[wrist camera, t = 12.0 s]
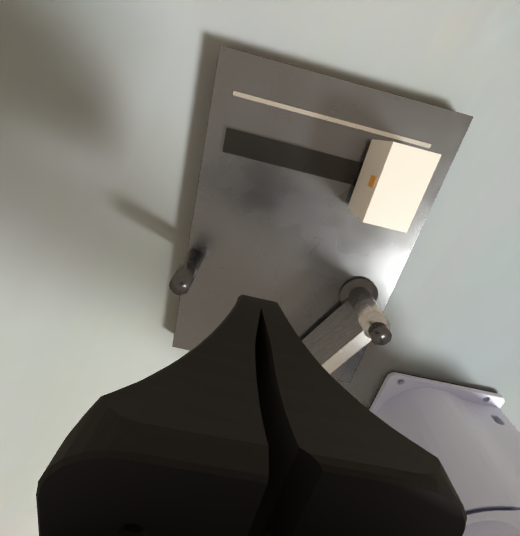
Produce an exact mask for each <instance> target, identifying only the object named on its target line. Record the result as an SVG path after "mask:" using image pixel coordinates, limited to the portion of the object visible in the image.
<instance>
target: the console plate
mask: <svg viewBox="0 0 520 536" xmlns="http://www.w3.org/2000/svg"><path fill="white" fill-rule="evenodd" d="M472 119H473V116H469V115H466V114H462V113H459V112H455V111H451V110H448V109H444V108H441V107H437V106H434V105H430V104H427V103H423V102H420V101H416V100H412V99H409V98H405V97H402V96H398V95H395V94H391V93H388V92H384V91H380V90H377V89H373V88H370V87H366V86H363V85H359V84H356V83H352V82H349V81H345V80H341V79H338V78H334V77H331V76H327V75H324V74H320V73H317V72H313V71H309V70H306V69H302V68H299V67H295V66H292V65H288V64H285V63H281V62H278V61H274V60H270V59H267V58H263V57H260V56H256V55H253V54H249V53H246V52H242V51H238V50H235V49H231V48H228V47H224V46H221V45H220V50H219V56H218V62H217V69H216V75H215V81H214V88H213V94H212V100H211V106H210V113H209V119H208V125H207V132H206V138H205V144H204V151H203V157H202V163H201V169H200V176H199V182H198V188H197V195H196V201H195V207H194V214H193V220H192V226H191V232H190V239H189V245H188V251H187V255H186V257H185V259H184V260H183V262H182V263H181V265H180V267H179V268H178V270H177V271H176V273H175V275H174V276H173V278H172V280H171V281H170V284H169V286H170V289H171V291H172V292H174V293H175V294H178V295H180V302H179V308H178V314H177V321H176V327H175V333H174V340H173V346H172V347H177V348H182V349H187V350H192V349H194V348H195V347H196V346H197V345H199V344H200V343H201V342H202V341H203V340H205V339H206V338H207V337H208V336H209V335H210V334H211V333H212V332H213V331H214V330H215V329H216V328H217V327H218V326H219V325H220V324H221V323H222V321H223V320H224V319H225V318H226V317H227V315H228V314H229V313H230V311H231V310H232V309H233V307H234V306H235V304H236V302H237V300H238V297H239V296H240V295H247V296H251V297H256V298H261V299H265V300H270V301H274V302H277V303H278V305H279V306H280V308H281V310H282V311H283V313H284V315H285V316H286V318H287V319H288V321H289V323H290V324H291V326H292V327H293V329H294V330H295V332H296V333H297V335H298V336H299V338H300V339H301V341H302V340H303V339H304V338H305V337H306V336H307V335H308V334H310V333H311V332H312V331H313V330H314V329H315V328H316V327H317V326H319V325H320V324H321V323H322V322H323V321H324V320H325V319H326V318H328V317H329V316H330V315H331V314H332V313H333V312H334V311H335V310H337V309H338V308H339V307H340V306H341V305H342V304H343V303H344V302H346V301H347V300H348V295H349V293H350V292H351V291H352V290H353V289H354V288H357V287H364V288H366V289H368V290H369V291H370V293H371V295H372V296H373V298H374V299H375V301H376V303H377V304H378V306H379V307H380V309H381V311H382V312H383V310H384V308H385V306H386V304H387V302H388V299H389V297H390V295H391V293H392V291H393V289H394V286H395V284H396V282H397V280H398V278H399V276H400V274H401V271H402V269H403V267H404V265H405V263H406V261H407V258H408V256H409V254H410V252H411V250H412V248H413V246H414V243H415V241H416V239H417V237H418V235H419V233H420V231H421V228H422V226H423V224H424V222H425V220H426V218H427V215H428V213H429V211H430V209H431V207H432V205H433V203H434V200H435V198H436V196H437V194H438V192H439V190H440V187H441V185H442V183H443V181H444V179H445V177H446V175H447V172H448V170H449V168H450V166H451V164H452V162H453V159H454V157H455V155H456V153H457V151H458V149H459V147H460V144H461V142H462V140H463V138H464V136H465V134H466V132H467V129H468V127H469V125H470V123H471V121H472ZM372 139H375V140H383V141H392V142H397V143H400V144H404V145H408V146H411V147H415V148H419V149H423V150H426V151H430V152H434V153H437V154H441V157H440V160H439V162H438V164H437V166H436V169H435V171H434V173H433V175H432V178H431V180H430V182H429V184H428V186H427V189H426V191H425V193H424V195H423V198H422V200H421V202H420V204H419V207H418V209H417V211H416V213H415V216H414V218H413V220H412V222H411V224H410V227H409V229H408V231H407V233H405V232H401V231H397V230H392V229H388V228H384V227H380V226H376V225H372V224H368V223H364V222H362V221H361V220H360V219H359V218H358V217H357V216H356V215H355V214H354V213H353V212H352V211H351V210H350V209H349V208H348V205H349V202H350V199H351V196H352V194H353V191H354V188H355V185H356V182H357V180H358V177H359V174H360V171H361V168H362V166H363V163H364V160H365V157H366V154H367V152H368V149H369V146H370V143H371V140H372ZM368 334H369V336H370V338H371V340H372V342H373V343H374V344H376V345H384V344H387V343H388V342H389V341H390V340H391V333H390V331H389V329H388V328H387V326H386V325H385V324H384V323H381V322H377V323H374V324H372V325H371V326H370V327H369V329H368ZM367 345H368V344H366V345H365V346H364V347H363V348H361V349H360V350H359V351H358V352H356V353H355V354H354V355H353V356H352V357H350V358H349V359H348V360H347V361H345V362H344V363H343V364H342V365H340V366H339V367H338V368H337V369H335V370H334V371H333V372H332V373H331V374H330V375H331V376H332V377H333V378H334V379H335V380H339V381H344V382H349V383H350V381H351V379H352V377H353V375H354V373H355V370H356V368H357V366H358V364H359V362H360V360H361V357H362V355H363V353H364V351H365V349H366V347H367Z"/></svg>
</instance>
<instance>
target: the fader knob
mask: <svg viewBox="0 0 520 536" xmlns="http://www.w3.org/2000/svg"><path fill="white" fill-rule="evenodd" d="M440 157H441V154H437V153H434V152H430V151H426V150H423V149H419V148H415V147H411V146H408V145H404V144H400V143H397V142H392V141H383V140H375V139H372V140H371V143H370V146H369V149H368V152H367V154H366V157H365V160H364V163H363V166H362V168H361V171H360V174H359V177H358V180H357V182H356V185H355V188H354V191H353V194H352V196H351V199H350V202H349V205H348V208H349V209H350V210H351V211H352V212H353V213H354V214H355V215H356V216H357V217H358V218H359V219H360V220H361V221H362V222H364V223H368V224H372V225H376V226H380V227H384V228H388V229H392V230H397V231H401V232H405V233H407V231H408V229H409V227H410V224H411V222H412V220H413V218H414V216H415V213H416V211H417V209H418V207H419V204H420V202H421V200H422V198H423V195H424V193H425V191H426V189H427V186H428V184H429V182H430V180H431V178H432V175H433V173H434V171H435V169H436V166H437V164H438V162H439V160H440Z"/></svg>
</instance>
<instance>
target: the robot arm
mask: <svg viewBox="0 0 520 536" xmlns="http://www.w3.org/2000/svg"><path fill="white" fill-rule="evenodd" d="M400 379H402V380H400ZM398 380H400V381H398ZM504 402H505V399H504V398H503V397H502V395H500V394H497V393H492V392H487V391H483V390H478V389H473V388H468V387H463V386H459V385H454V384H449V383H444V382H439V381H435V380H430V379H425V378H420V377H415V376H411V375H406V374H401V373H396V372H392V373H390V374H388V375H387V377H386V379H385V380H384V382H383V384H382V386H381V388H380V390H379V392H378V394H377V396H376V398H375V400H374V402H373V403H372V405H371V407H370V409H367V408H366V407H365V406H364V405H362V404H361V403H360V402H359V401H358V400H357V399H355V398H354V397H353V396H352V395H351V394H350V393H349V392H348V391H346V390H345V389H344V388H343V387H342V386H341V385H340V384H339V383H338V382H337V381H336V380H335V379H334V378H333V377H332V376H331V375H330V374H329V373H328V372H327V371H326V370H325V369H324V368H323V367H322V365H321V364H320V363H319V362H318V361H317V360H316V359H315V357H314V356H313V355H312V354H311V352H310V351H309V350H308V349H307V347H306V346H305V345H304V343H303V342H302V341H301V339H300V338H299V336H298V335H297V333H296V332H295V330H294V329H293V327H292V326H291V324H290V323H289V321H288V319H287V318H286V316H285V315H284V313H283V311H282V310H281V308H280V306H279V305H278V303H277V302H274V301H270V300H265V299H261V298H256V297H251V296H247V295H240V296H239V297H238V300H237V302H236V304H235V306H234V307H233V309H232V310H231V311H230V313H229V314H228V315H227V317H226V318H225V319H224V320H223V321H222V323H221V324H220V325H219V326H218V327H217V328H216V329H215V330H214V331H213V332H212V333H211V334H210V335H209V336H208V337H207V338H206V339H205V340H203V341H202V342H201V343H200V344H199V345H197V346H196V347H195V348H194V349H192V350H191V351H190V352H188V353H187V354H185V355H184V356H183V357H181V358H180V359H178V360H177V361H175V362H174V363H172V364H170V365H169V366H167V367H165V368H163V369H162V370H160V371H158V372H156V373H154V374H152V375H151V376H149V377H147V378H145V379H143V380H141V381H139V382H137V383H134V384H132V385H129V386H127V387H124V388H122V389H119V390H117V391H114V392H112V393H109V394H106V395H104V396H101V397H100V398H99V399H98V400H97V401H96V402H95V404H94V405H93V406H92V407H91V408H90V409H89V410H88V411H87V412H86V414H85V415H84V416H83V417H82V418H81V420H80V421H79V422H78V423H77V425H76V426H75V427H74V428H73V429H72V431H71V432H70V433H69V435H68V436H67V437H66V438H65V440H64V441H63V443H62V445H61V446H60V448H59V449H58V451H57V452H56V454H55V456H54V457H53V459H52V460H51V462H50V464H49V465H48V467H47V468H46V470H45V472H44V473H43V475H42V476H41V478H40V480H39V481H38V487H37V493H36V499H37V512H38V526H39V536H520V432H519V431H518V430H517V429H516V428H515V426H514V425H513V424H512V423H511V422H510V420H509V419H508V418H507V417H506V416H505V414H504V413H503V412H502V411H501V409H500V408H501V406H502V405H503V403H504Z"/></svg>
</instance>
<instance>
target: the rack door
mask: <svg viewBox="0 0 520 536" xmlns="http://www.w3.org/2000/svg"><path fill="white" fill-rule="evenodd" d="M377 322H381V323H384V324H385V325H386V326H387V328H388V329H390V324H389V322H388V320H387V318H386V317H385V315H384V314H383V312H382V311H381V309H380V307H379V306H378V304H377V303H376V301H375V299H374V298H373V296H372V295H371V293H370V291H369V290H368V289H366V288H364V287H357V288H354V289H353V290H352V291H351V292H350V293H349V295H348V300H347V301H346V302H344V303H343V304H342V305H341V306H340V307H339V308H338V309H337V310H335V311H334V312H333V313H332V314H331V315H330V316H329V317H328V318H326V319H325V320H324V321H323V322H322V323H321V324H320V325H319V326H317V327H316V328H315V329H314V330H313V331H312V332H311V333H310V334H308V335H307V336H306V337H305V338H304V339H303V340H302V342H303V343H304V345H305V346H306V347H307V349H308V350H309V351H310V352H311V354H312V355H313V356H314V357H315V359H316V360H317V361H318V362H319V363H320V364H321V365H322V367H323V368H324V369H325V370H326V371H327V372H328V373H329V374H331V373H332V372H333V371H334V370H335V369H337V368H338V367H339V366H340V365H342V364H343V363H344V362H345V361H347V360H348V359H349V358H350V357H352V356H353V355H354V354H355V353H356V352H358V351H359V350H360V349H361V348H363V347H364V346H365V345H366V344H368V343H369V342H370V341H371V338H370V336H369V334H368V329H369V327H370V326H371V325H372V324H374V323H377Z"/></svg>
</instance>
